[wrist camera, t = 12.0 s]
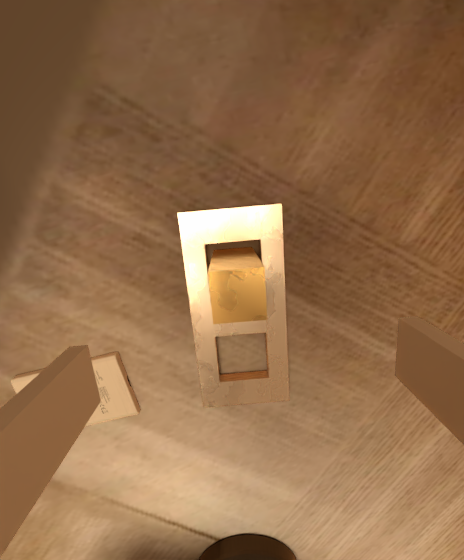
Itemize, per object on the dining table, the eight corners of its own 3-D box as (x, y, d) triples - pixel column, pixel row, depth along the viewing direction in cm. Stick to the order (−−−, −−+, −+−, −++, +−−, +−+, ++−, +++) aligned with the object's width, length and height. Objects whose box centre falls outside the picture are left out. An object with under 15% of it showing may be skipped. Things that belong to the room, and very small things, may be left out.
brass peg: (254, 283, 31) (267, 319, 21) (217, 286, 31) (213, 324, 21) (252, 246, 30) (264, 267, 20) (213, 249, 30) (207, 271, 20)
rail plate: (286, 392, 34) (289, 400, 33) (204, 399, 34) (203, 407, 33) (278, 203, 28) (281, 203, 27) (179, 212, 28) (177, 213, 27)
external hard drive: (19, 372, 33) (119, 348, 33) (47, 428, 36) (142, 406, 35) (9, 380, 32) (114, 356, 31) (39, 438, 34) (138, 416, 33)
